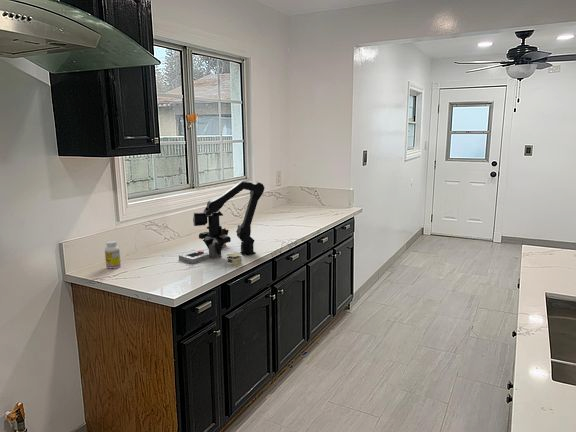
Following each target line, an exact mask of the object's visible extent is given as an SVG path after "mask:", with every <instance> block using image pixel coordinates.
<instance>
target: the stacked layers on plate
mask: <svg viewBox="0 0 576 432" xmlns="http://www.w3.org/2000/svg"><path fill="white" fill-rule="evenodd" d="M242 262H243V256H242V254H240V252H233V253H227V254H226V263H227V264H231V266H232V267H236V268H237V267H238V266H240V265H242Z"/></svg>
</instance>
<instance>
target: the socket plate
mask: <svg viewBox="0 0 576 432" xmlns="http://www.w3.org/2000/svg"><path fill="white" fill-rule="evenodd" d="M210 259H211V258H209V253H206V252H204V250H192V251H189V252H186V253H182V254H179V255H178V261H182V262H184V263H188V264H191V265H194V264H198V263H201V262H204V261H208V260H210Z"/></svg>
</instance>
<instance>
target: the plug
mask: <svg viewBox="0 0 576 432" xmlns="http://www.w3.org/2000/svg"><path fill="white" fill-rule="evenodd" d="M215 243H216V242H213V244H210V245H209V249H208V254H209V258H210V259H213V260H215V259H218V258H222V252H221V253H220V254H219V255H218V253H217V249H216V245H215Z"/></svg>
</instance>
